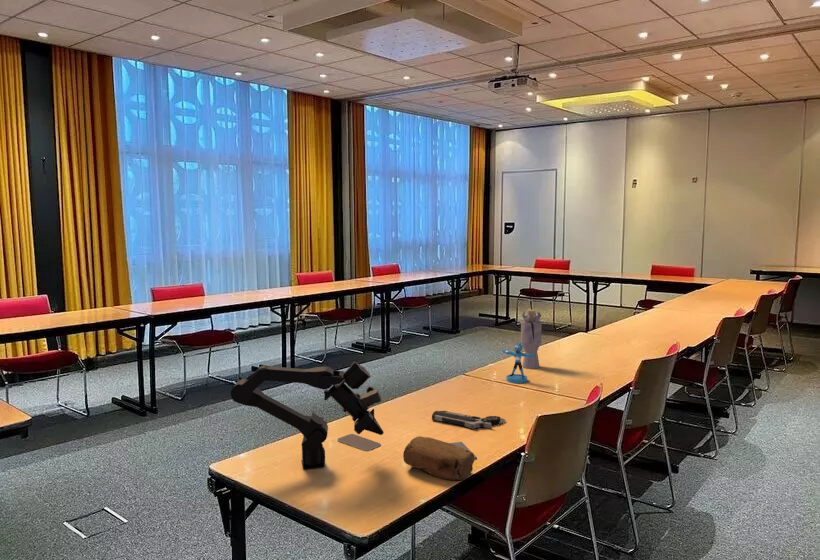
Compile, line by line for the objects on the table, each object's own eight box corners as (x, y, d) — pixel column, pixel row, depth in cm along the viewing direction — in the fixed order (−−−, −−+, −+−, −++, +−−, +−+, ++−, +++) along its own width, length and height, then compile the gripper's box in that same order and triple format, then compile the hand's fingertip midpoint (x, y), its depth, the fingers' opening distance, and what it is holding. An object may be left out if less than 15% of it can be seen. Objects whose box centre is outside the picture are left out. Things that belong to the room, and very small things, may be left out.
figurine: (496, 380, 279) (496, 342, 278) (506, 375, 287) (506, 339, 285) (530, 386, 268) (531, 347, 267) (540, 381, 276) (540, 343, 274)
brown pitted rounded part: (421, 432, 187) (477, 449, 175) (420, 455, 188) (476, 473, 176) (401, 443, 178) (458, 462, 166) (400, 467, 179) (457, 487, 168)
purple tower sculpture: (529, 363, 312) (529, 307, 309) (545, 366, 304) (545, 309, 301) (516, 366, 305) (517, 309, 302) (532, 370, 297) (533, 311, 294)
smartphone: (366, 450, 193) (336, 439, 203) (366, 453, 193) (336, 441, 203) (382, 444, 199) (351, 433, 208) (382, 446, 199) (351, 435, 208)
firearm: (449, 404, 235) (429, 413, 222) (506, 415, 221) (489, 425, 209) (449, 412, 235) (429, 421, 222) (506, 424, 222) (488, 434, 209)
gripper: (365, 389, 172) (402, 426, 174) (366, 373, 191) (399, 406, 193) (338, 416, 173) (375, 452, 174) (341, 397, 191) (375, 430, 193)
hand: (382, 433), depth 184 cm, fingers closed
